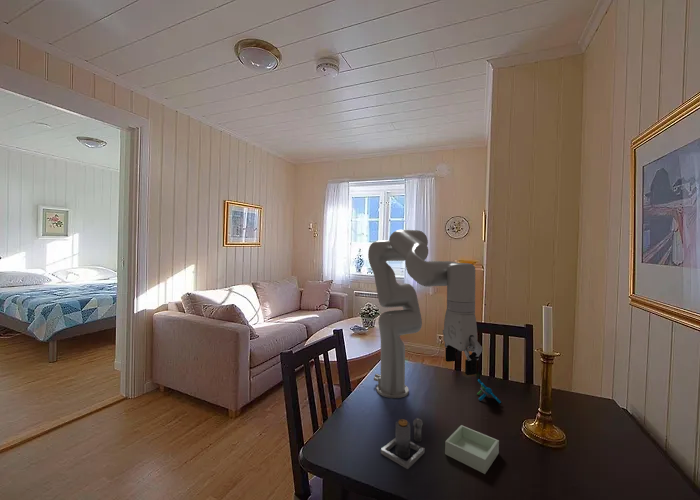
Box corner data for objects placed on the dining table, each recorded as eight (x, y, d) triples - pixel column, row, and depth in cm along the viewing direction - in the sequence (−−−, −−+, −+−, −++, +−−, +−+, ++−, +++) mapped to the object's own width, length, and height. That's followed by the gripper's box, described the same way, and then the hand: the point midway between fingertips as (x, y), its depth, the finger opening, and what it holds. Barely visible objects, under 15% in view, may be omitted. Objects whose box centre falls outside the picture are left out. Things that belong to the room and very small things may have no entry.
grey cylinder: (392, 453, 84) (392, 421, 84) (400, 446, 87) (400, 415, 87) (404, 460, 81) (405, 427, 81) (412, 453, 84) (413, 421, 84)
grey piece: (380, 453, 84) (380, 431, 84) (407, 431, 94) (407, 411, 94) (407, 469, 78) (407, 445, 78) (433, 444, 88) (433, 422, 88)
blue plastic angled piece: (506, 404, 107) (484, 382, 109) (494, 416, 107) (472, 393, 109) (495, 394, 118) (476, 374, 120) (484, 404, 118) (465, 384, 120)
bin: (445, 454, 84) (445, 441, 83) (461, 436, 91) (461, 424, 91) (485, 474, 76) (485, 459, 76) (498, 453, 84) (498, 440, 84)
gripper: (433, 302, 93) (433, 357, 93) (467, 313, 77) (467, 381, 77) (455, 301, 95) (454, 355, 95) (493, 312, 78) (492, 379, 78)
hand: (460, 367), depth 86 cm, fingers open, 9 cm apart
